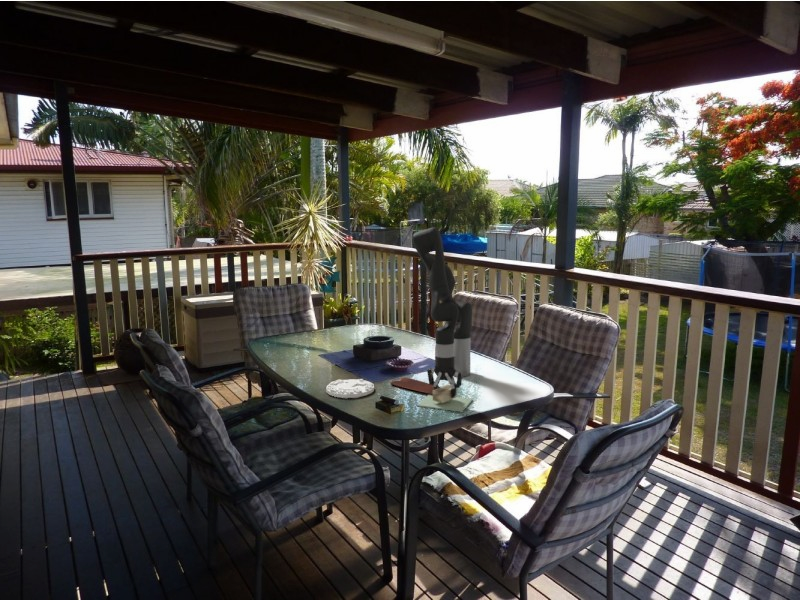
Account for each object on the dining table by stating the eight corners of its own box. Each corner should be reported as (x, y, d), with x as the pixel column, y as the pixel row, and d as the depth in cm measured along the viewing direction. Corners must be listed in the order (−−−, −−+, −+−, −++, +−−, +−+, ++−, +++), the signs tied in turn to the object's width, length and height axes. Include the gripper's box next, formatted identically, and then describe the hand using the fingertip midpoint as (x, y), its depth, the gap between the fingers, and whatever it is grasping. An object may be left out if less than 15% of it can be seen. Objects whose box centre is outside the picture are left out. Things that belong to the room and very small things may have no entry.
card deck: (432, 400, 224) (432, 390, 223) (446, 394, 230) (446, 384, 230) (443, 403, 220) (442, 393, 220) (457, 397, 227) (457, 387, 226)
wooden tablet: (388, 385, 249) (388, 381, 249) (404, 379, 256) (404, 376, 256) (434, 397, 231) (434, 393, 231) (451, 391, 238) (450, 387, 237)
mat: (429, 395, 235) (429, 393, 235) (472, 400, 229) (472, 398, 228) (417, 406, 223) (417, 405, 223) (462, 412, 216) (462, 410, 216)
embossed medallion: (383, 391, 243) (383, 384, 242) (347, 403, 229) (347, 396, 229) (353, 381, 257) (353, 375, 256) (316, 391, 243) (316, 385, 243)
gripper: (423, 355, 222) (424, 397, 225) (459, 358, 216) (460, 401, 219) (430, 350, 229) (430, 391, 231) (465, 353, 223) (465, 395, 226)
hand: (445, 396), depth 225 cm, fingers closed on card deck, 6 cm apart
